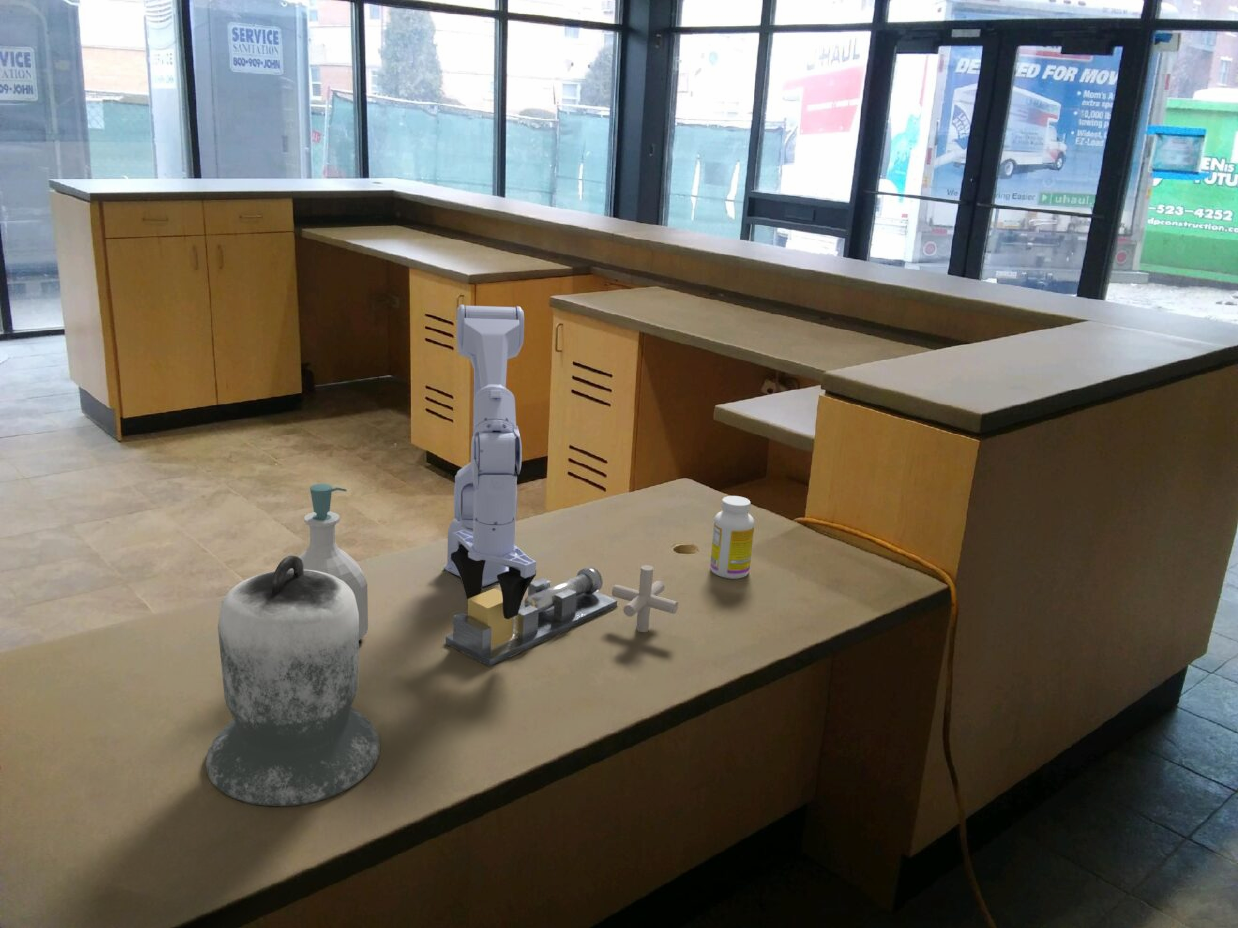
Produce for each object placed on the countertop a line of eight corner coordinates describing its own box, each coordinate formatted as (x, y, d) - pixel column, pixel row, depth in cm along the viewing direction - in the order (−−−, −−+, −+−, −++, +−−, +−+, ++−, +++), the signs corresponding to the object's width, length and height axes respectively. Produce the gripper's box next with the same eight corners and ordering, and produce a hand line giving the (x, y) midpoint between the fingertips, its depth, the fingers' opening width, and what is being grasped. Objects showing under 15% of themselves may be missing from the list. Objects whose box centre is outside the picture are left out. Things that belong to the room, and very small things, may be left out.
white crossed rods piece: (596, 633, 157) (600, 570, 154) (627, 608, 165) (632, 548, 162) (657, 652, 153) (663, 588, 150) (686, 625, 161) (692, 564, 158)
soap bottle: (374, 640, 151) (372, 488, 144) (314, 662, 144) (308, 504, 137) (335, 615, 157) (332, 469, 150) (276, 636, 150) (269, 483, 143)
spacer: (467, 637, 151) (468, 598, 149) (493, 625, 155) (494, 588, 153) (486, 647, 149) (487, 608, 147) (512, 635, 152) (514, 597, 150)
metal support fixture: (445, 642, 151) (445, 612, 150) (573, 587, 171) (575, 559, 170) (489, 666, 146) (490, 634, 145) (616, 606, 166) (618, 577, 164)
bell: (407, 727, 131) (407, 538, 123) (329, 823, 113) (323, 610, 105) (266, 698, 135) (257, 514, 127) (169, 786, 117) (152, 578, 109)
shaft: (520, 613, 159) (521, 588, 157) (582, 586, 169) (583, 563, 167) (540, 622, 156) (541, 597, 155) (601, 594, 166) (603, 571, 165)
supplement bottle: (755, 570, 182) (763, 500, 178) (738, 583, 176) (746, 511, 172) (720, 560, 185) (727, 490, 181) (702, 572, 180) (709, 501, 176)
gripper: (436, 509, 147) (435, 598, 152) (510, 540, 139) (507, 634, 143) (474, 496, 152) (472, 583, 157) (548, 526, 144) (544, 617, 148)
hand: (491, 606), depth 150 cm, fingers open, 7 cm apart
